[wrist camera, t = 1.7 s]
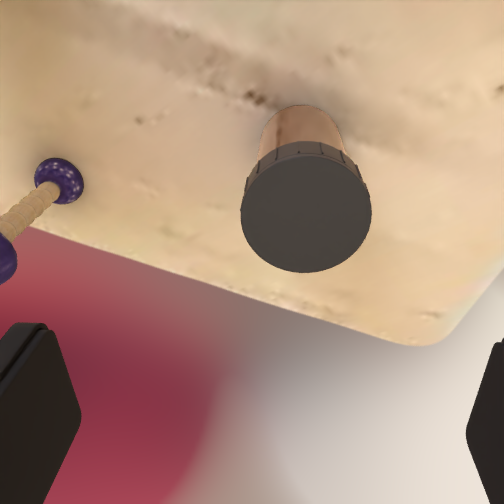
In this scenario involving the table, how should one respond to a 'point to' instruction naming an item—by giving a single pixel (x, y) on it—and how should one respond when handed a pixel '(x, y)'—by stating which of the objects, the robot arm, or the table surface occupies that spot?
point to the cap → (305, 207)
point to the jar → (299, 129)
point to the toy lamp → (37, 206)
